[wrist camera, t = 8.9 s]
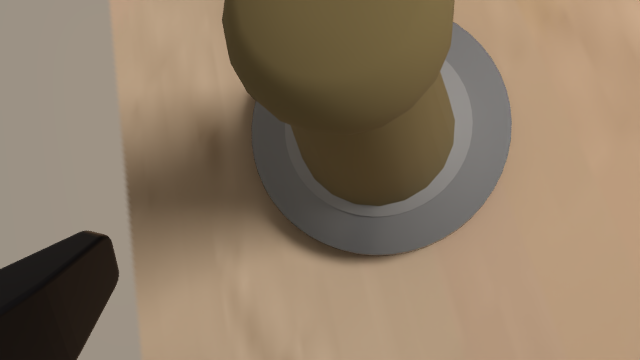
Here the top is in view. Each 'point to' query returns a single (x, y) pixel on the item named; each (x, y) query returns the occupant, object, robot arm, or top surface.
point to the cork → (352, 87)
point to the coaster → (425, 206)
